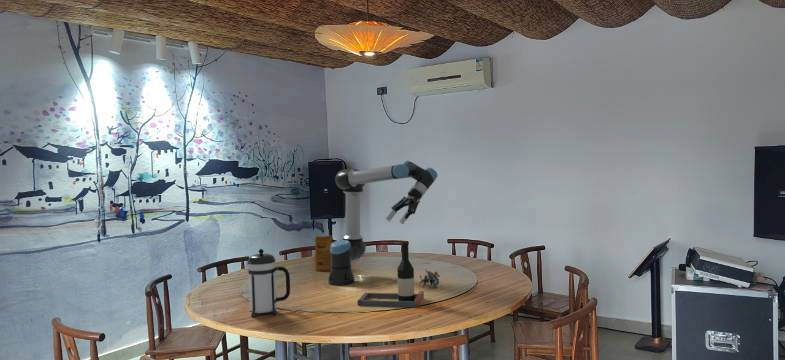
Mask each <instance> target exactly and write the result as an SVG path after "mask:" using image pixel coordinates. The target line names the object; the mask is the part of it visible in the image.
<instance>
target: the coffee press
mask: <svg viewBox="0 0 785 360" xmlns="http://www.w3.org/2000/svg"><path fill="white" fill-rule="evenodd" d="M264 252H265V251H264V249H263V248H260V249H259V250H258V253H256V254H253V255H251V256H249V257H248V259H247V260H246V263H245V265H244V267H243V268H247V274H248V292H249V293H248V294H249V297H248V298H249V311H250V312H251V314H250V316H251V317H252V318H256V316H257V314H265V313H267V314H268V313H270V314H272V316H275V315H277V313H278V312H277V310H276V308H277V302H283V301H285V300H287V299H288V298H289V296H290V294H291V282H290V281H291V277H290V272H289V270H288V269H287V268H286V267H285V266H276V262H277V261H276V258H275V255H273V254H270V253H264ZM277 271H281V272H283V273H284V275H285V288H286V289H285V294H284V295H283V296H279V297H277V290H276V289H277V288H276V286H277V284H276V272H277Z"/></svg>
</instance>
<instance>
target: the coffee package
mask: <svg viewBox="0 0 785 360" xmlns="http://www.w3.org/2000/svg"><path fill="white" fill-rule="evenodd" d="M332 240H333V236H332V235H324V236H321V235H315V239H314V242H315V245H314V246H315V249H314V252H315V253H314V257H313V265H314V271H315V272H320V271H323V272H325V271H328V272H329V271H331V257H330V245H331V244H332V243H333V241H332Z"/></svg>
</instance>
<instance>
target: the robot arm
mask: <svg viewBox="0 0 785 360" xmlns="http://www.w3.org/2000/svg"><path fill="white" fill-rule="evenodd" d="M406 178H407V179H408V178H409V179H410V178H411V179H413V180H414V181H416V182H415V183H414V184H413V185H412V187H411V188H410V189H409V190H408V192H407V196H403V197H402V198H401V199H400V200H398V201H397V202H396V203H395V204H393V206H392V207H391V211H390V212H389V214H388V215H387V216H386V218H385V219H386V220H387V222H391V220H392V219H394V217H395V215H397V212H399V210H401V209H403V208H404V207H408V208H407V210H406V212H405V213H404V214H403V215H402V217H400V219H399V220H398V221H399V222H400V224H401V225H404V224H405V223H406V221H407V219H409V217H410V216H412V215H415V214H416V211H417V209H418V206H419V204H420V202H421V199H422V198H423V196H424V195H425V194H426V193H427V191H428V189H430V187H431V186H432V185H433V183H434V182H435V181H436V179H437V178H438V173H437V170H435V169H434V168H432V167H426V169H425V168H423V167H421V166H419V165H417V163H416V164H415V163H414V162H413V161H410V160H406V161H404V162H403V163H399V164H396V165H388V166H381V167H380V166H379V167H376V168H375V167H374V168H368V169H358V168H351V169H350V168H349V169H342V170H339V171H338V172H337V174H336V175H335V178H334V179H335V184H336V186H337V187H338V188H339V189H341V190H343V191H342V192H343V193H344V194H345V235H344V236H343V237H342V239H341V240H336V241H334V242H333V241H332V244H331V245H330V257H331V270H329V271H330V272H329V275H328V278H327V283H328V284H329V285H333V286H347V285H352V284H353V283H355V281H356V279H355V275H354V273H353V270H352V269H353V268H352V261H355V260H356V261H357V260H359V259H360V258H362V257H363V256H364V254H365V253H366V249H367V246H366V243H365V242H364V240H363V236H362V235H361V195H362V193H363V192H364V190H363V189H364V186H365V185H366V184H370V183H377V182H386V181H391V180H401V179H406Z"/></svg>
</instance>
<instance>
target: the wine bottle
mask: <svg viewBox="0 0 785 360" xmlns="http://www.w3.org/2000/svg"><path fill="white" fill-rule="evenodd" d="M409 255H410V254H409V242H408V240H402V242H401V261H400V263H399V264H398V266H397V293H398V299H397V301H415V298H414V294H415V272H414V271H415V270H414V267H413V265H412V263H411V261H410V260H409Z"/></svg>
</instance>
